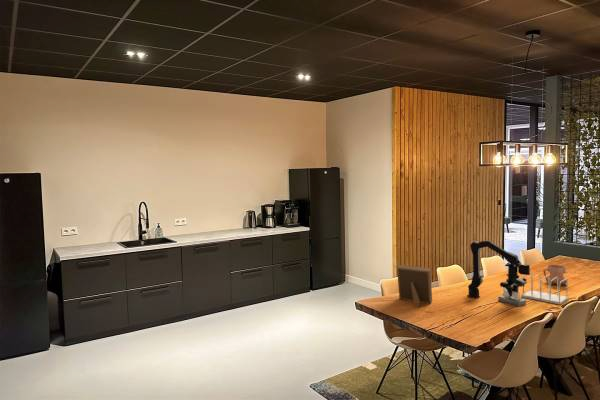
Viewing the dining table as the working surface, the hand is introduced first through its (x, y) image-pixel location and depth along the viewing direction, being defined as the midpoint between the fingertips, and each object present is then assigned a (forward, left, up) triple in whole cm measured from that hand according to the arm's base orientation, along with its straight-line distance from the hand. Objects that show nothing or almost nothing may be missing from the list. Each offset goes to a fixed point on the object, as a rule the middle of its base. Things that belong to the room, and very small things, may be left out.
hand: (512, 295), depth 302 cm
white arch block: (0, 0, -4) cm, 4 cm away
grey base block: (0, 0, -5) cm, 5 cm away
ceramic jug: (-11, +70, -5) cm, 71 cm away
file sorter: (+6, +28, -5) cm, 29 cm away
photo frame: (-34, -57, -5) cm, 67 cm away
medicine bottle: (-11, +14, -5) cm, 18 cm away
